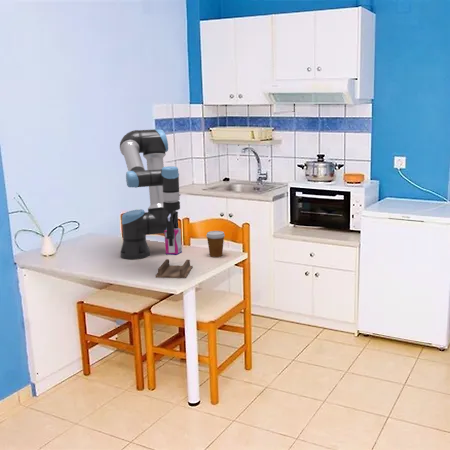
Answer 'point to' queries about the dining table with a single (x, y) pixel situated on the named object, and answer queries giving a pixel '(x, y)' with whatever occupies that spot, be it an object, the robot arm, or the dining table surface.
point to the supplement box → (177, 242)
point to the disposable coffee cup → (215, 243)
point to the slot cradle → (174, 270)
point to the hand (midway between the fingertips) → (173, 250)
